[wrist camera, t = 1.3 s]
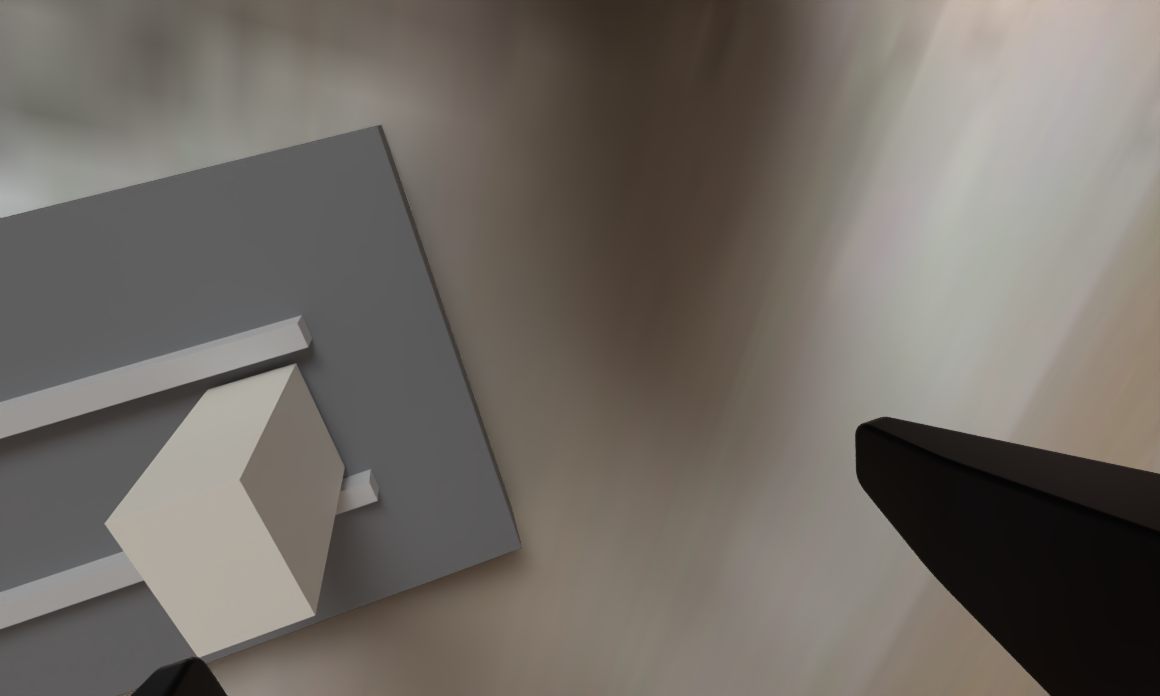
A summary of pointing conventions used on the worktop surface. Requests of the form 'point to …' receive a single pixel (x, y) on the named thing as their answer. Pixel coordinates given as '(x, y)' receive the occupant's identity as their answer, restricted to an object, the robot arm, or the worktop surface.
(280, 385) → the slider paddle
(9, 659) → the panel
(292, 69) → the worktop surface
